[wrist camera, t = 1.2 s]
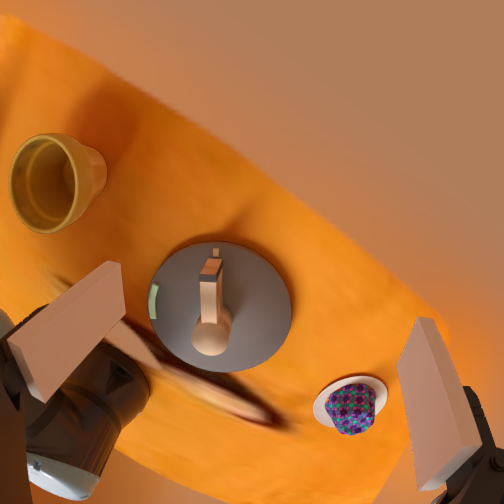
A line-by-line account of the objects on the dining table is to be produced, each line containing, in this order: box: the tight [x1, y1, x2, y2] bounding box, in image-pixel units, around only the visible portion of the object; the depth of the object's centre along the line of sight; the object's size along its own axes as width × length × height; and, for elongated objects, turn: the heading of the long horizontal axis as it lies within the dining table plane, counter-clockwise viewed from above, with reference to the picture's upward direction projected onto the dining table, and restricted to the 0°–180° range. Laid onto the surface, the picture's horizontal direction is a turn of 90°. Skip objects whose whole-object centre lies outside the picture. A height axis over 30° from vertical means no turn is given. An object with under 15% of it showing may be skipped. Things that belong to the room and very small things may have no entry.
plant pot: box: [9, 133, 107, 234], centre depth 30 cm, size 10×10×10 cm
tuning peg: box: [191, 258, 233, 356], centre depth 34 cm, size 10×4×5 cm, turn 178°
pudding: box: [313, 376, 387, 435], centre depth 42 cm, size 12×12×5 cm
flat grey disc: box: [147, 241, 292, 372], centre depth 39 cm, size 18×18×2 cm
